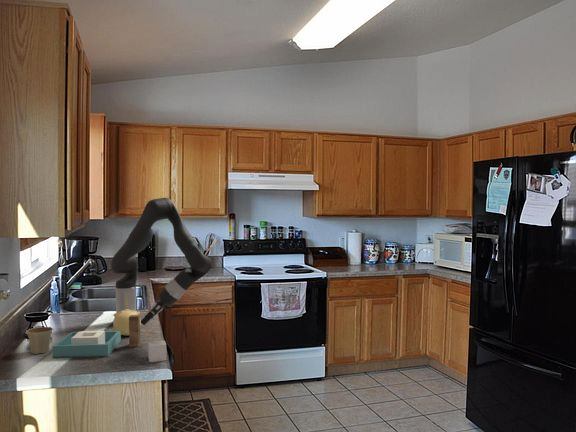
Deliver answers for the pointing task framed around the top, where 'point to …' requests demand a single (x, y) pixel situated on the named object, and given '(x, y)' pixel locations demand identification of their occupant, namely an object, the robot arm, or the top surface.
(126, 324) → the sculpture
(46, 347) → the flower pot
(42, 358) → the top surface
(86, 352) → the socket box
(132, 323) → the peg
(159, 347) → the light grey cube
